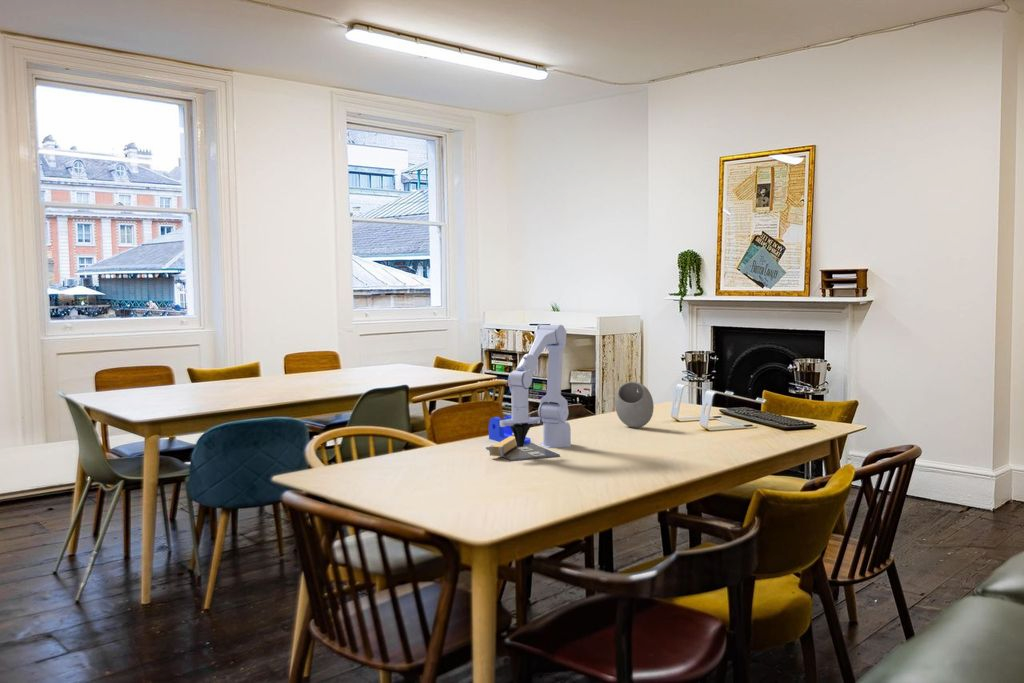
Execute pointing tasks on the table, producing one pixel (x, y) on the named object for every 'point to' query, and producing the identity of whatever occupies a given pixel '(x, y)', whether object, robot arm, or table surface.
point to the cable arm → (503, 446)
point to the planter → (634, 404)
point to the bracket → (501, 430)
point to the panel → (527, 452)
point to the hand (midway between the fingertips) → (520, 446)
